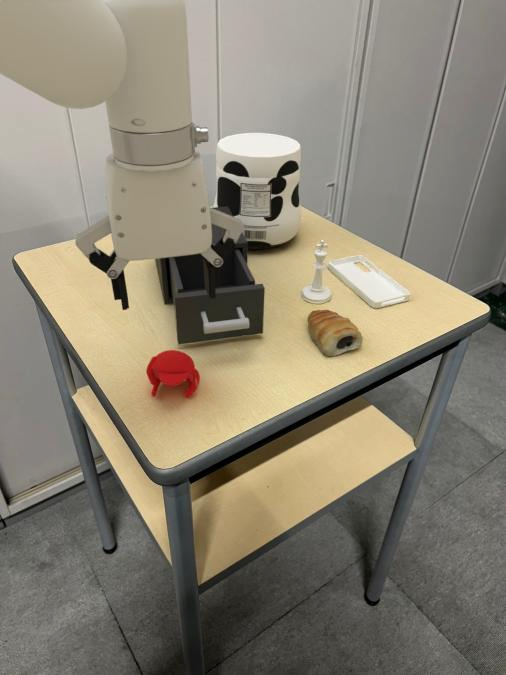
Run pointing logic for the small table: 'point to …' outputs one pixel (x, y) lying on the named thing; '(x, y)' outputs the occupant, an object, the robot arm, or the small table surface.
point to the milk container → (260, 185)
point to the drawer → (215, 300)
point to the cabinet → (217, 234)
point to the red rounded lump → (173, 371)
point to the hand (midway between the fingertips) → (168, 297)
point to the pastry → (333, 332)
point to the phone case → (369, 282)
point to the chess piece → (317, 279)
